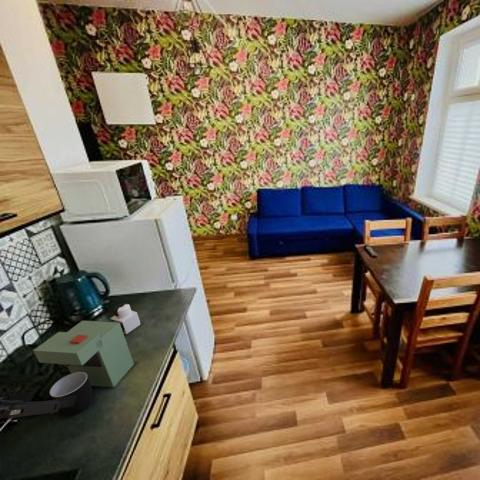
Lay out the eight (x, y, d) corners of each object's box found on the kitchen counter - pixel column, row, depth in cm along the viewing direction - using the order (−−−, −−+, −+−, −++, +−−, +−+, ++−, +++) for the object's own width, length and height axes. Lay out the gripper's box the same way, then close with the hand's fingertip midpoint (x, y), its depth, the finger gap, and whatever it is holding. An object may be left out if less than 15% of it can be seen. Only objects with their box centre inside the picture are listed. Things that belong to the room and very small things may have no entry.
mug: (99, 388, 93) (89, 367, 89) (95, 410, 86) (84, 388, 82) (53, 405, 87) (40, 383, 83) (44, 430, 80) (31, 407, 76)
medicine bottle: (114, 331, 119) (106, 309, 114) (129, 320, 125) (122, 299, 120) (126, 334, 117) (118, 312, 112) (141, 324, 123) (134, 303, 118)
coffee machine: (59, 400, 88) (31, 348, 80) (99, 361, 103) (79, 314, 94) (99, 403, 88) (75, 351, 79) (134, 364, 102) (117, 316, 93)
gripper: (-101, 430, 59) (7, 410, 79) (3, 440, 57) (86, 417, 77) (-80, 392, 62) (20, 382, 81) (19, 400, 60) (96, 387, 80)
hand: (52, 399), depth 79 cm, fingers open, 13 cm apart
